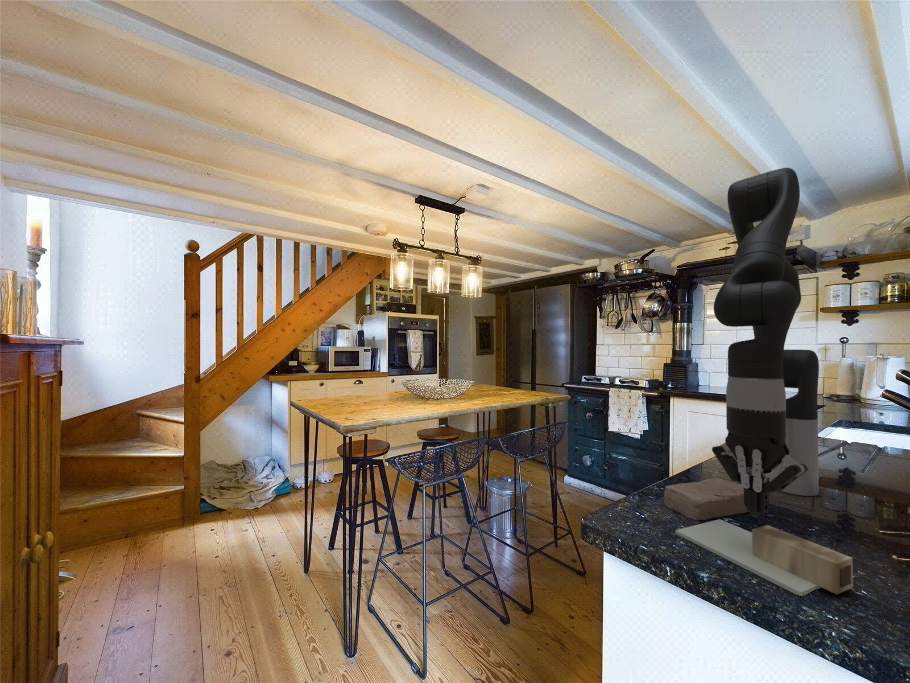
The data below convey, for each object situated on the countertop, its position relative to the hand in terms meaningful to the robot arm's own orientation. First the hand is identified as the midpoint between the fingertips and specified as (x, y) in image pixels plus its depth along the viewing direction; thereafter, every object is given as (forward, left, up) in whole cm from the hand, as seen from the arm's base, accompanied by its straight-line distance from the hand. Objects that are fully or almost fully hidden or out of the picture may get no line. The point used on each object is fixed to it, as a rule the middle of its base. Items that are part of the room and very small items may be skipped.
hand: (756, 512), depth 59 cm
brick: (-11, -15, -7) cm, 19 cm away
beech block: (0, +1, -4) cm, 4 cm away
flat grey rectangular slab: (0, 0, -7) cm, 7 cm away
